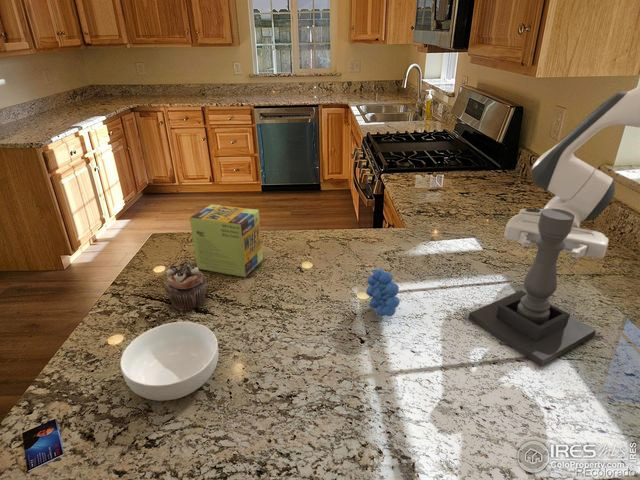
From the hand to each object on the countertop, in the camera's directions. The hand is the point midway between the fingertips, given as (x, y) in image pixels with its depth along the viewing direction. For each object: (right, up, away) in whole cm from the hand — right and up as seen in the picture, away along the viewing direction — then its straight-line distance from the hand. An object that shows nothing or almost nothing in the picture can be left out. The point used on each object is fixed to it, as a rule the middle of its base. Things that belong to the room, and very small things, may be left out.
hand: (549, 250), depth 90 cm
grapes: (-34, -15, +7) cm, 38 cm away
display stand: (-3, -17, +2) cm, 17 cm away
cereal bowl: (-76, -24, -11) cm, 80 cm away
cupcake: (-81, -13, +13) cm, 83 cm away
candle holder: (-3, -16, +2) cm, 16 cm away
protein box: (-74, -5, +29) cm, 79 cm away
